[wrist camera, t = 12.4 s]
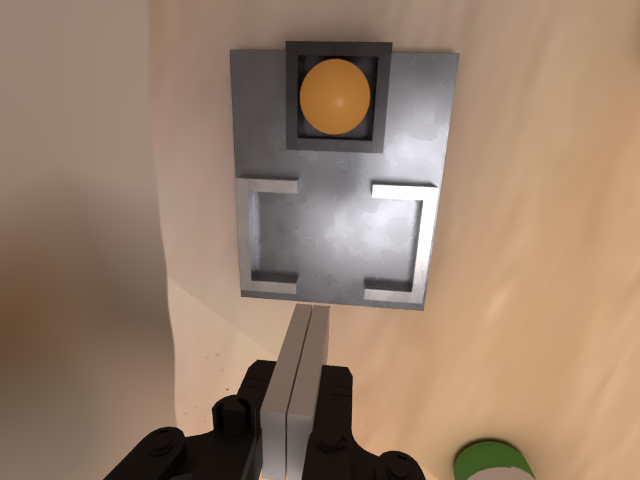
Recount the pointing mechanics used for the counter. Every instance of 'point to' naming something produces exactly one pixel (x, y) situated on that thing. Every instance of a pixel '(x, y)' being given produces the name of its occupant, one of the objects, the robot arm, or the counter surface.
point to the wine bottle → (491, 463)
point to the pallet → (339, 176)
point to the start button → (335, 96)
